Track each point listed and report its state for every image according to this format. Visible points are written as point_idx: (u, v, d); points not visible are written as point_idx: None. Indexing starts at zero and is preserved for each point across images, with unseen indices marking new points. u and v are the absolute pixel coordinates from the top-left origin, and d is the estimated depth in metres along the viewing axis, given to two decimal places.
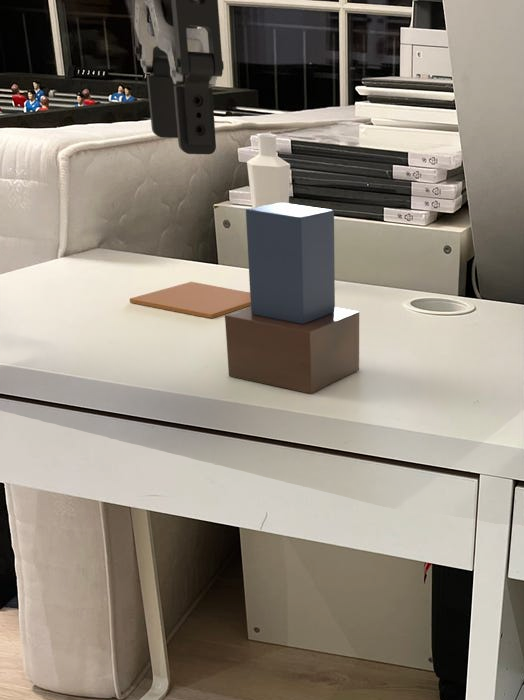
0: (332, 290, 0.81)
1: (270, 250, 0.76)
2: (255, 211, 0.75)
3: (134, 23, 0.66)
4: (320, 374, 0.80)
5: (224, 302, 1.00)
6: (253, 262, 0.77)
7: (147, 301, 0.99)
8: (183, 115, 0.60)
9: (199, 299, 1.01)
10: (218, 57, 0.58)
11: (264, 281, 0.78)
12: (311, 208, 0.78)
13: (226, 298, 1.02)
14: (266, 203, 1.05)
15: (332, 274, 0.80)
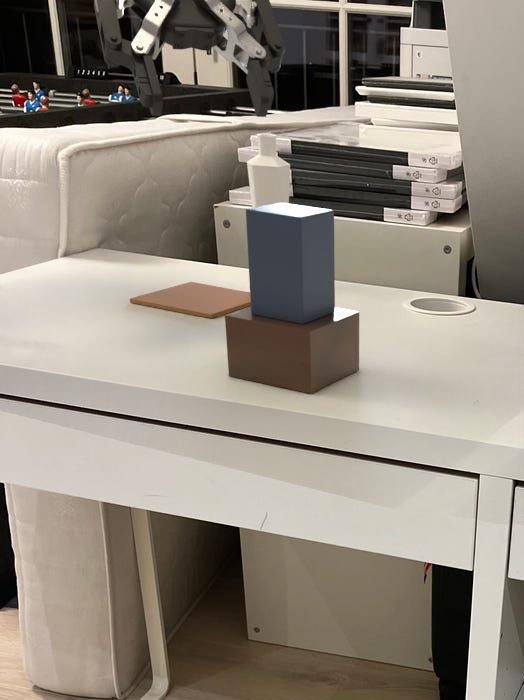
0: (332, 290, 0.81)
1: (270, 250, 0.76)
2: (255, 211, 0.75)
3: (106, 19, 0.75)
4: (320, 374, 0.80)
5: (224, 302, 1.00)
6: (253, 262, 0.77)
7: (147, 301, 0.99)
8: None
9: (199, 299, 1.01)
10: None
11: (264, 281, 0.78)
12: (311, 208, 0.78)
13: (226, 298, 1.02)
14: (266, 203, 1.05)
15: (332, 274, 0.80)
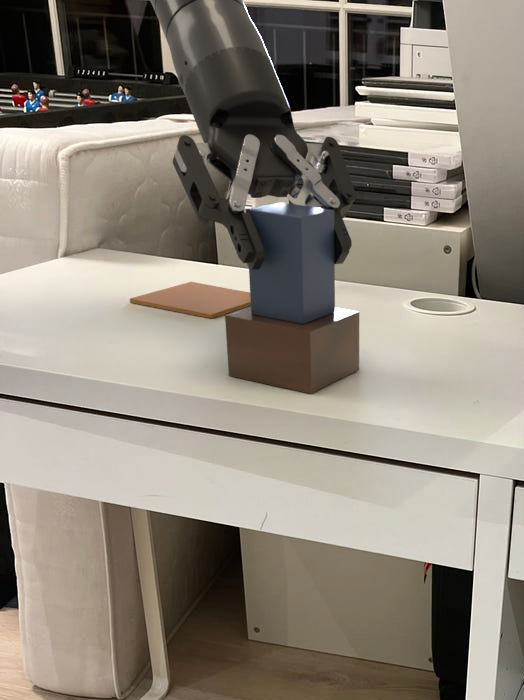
0: (332, 290, 0.81)
1: (270, 250, 0.76)
2: (255, 211, 0.75)
3: (201, 179, 0.74)
4: (320, 374, 0.80)
5: (224, 302, 1.00)
6: None
7: (147, 301, 0.99)
8: None
9: (199, 299, 1.01)
10: None
11: (264, 281, 0.78)
12: (311, 208, 0.78)
13: (226, 298, 1.02)
14: (266, 203, 1.05)
15: (332, 274, 0.80)
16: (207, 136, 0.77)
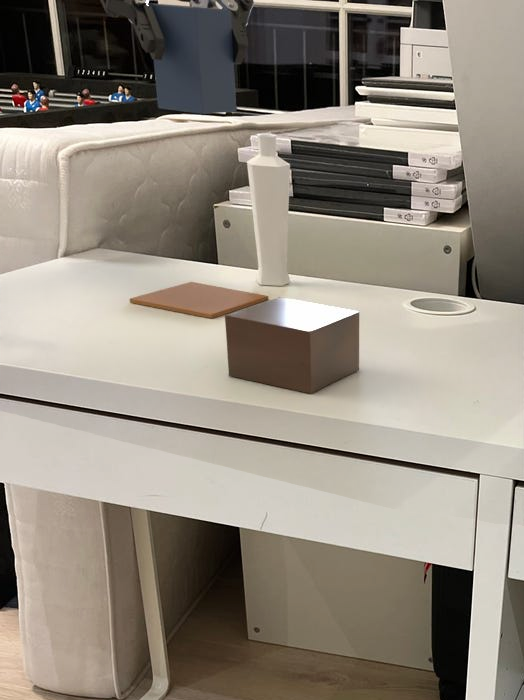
0: (232, 89, 0.90)
1: (171, 42, 0.85)
2: (156, 4, 0.84)
3: None
4: (320, 374, 0.80)
5: (224, 302, 1.00)
6: None
7: (147, 301, 0.99)
8: None
9: (199, 299, 1.01)
10: None
11: (168, 73, 0.86)
12: None
13: (226, 298, 1.02)
14: (266, 203, 1.05)
15: (232, 73, 0.89)
16: None
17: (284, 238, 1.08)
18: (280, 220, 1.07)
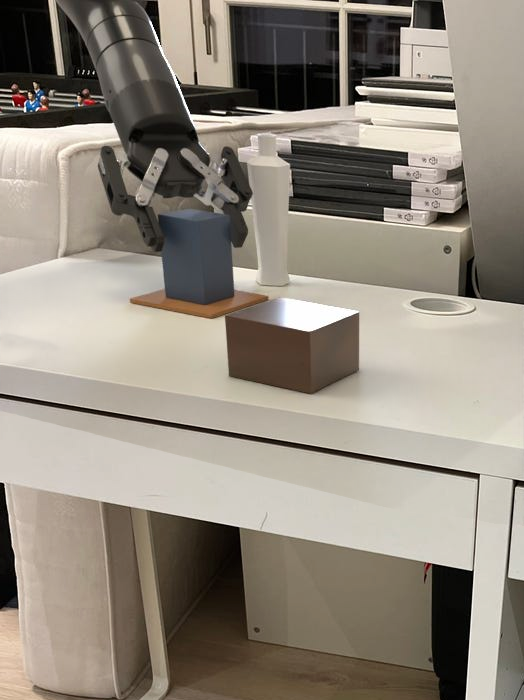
0: (231, 278, 1.02)
1: (177, 246, 0.97)
2: (165, 216, 0.96)
3: (114, 180, 0.94)
4: (320, 374, 0.80)
5: (224, 302, 1.00)
6: (165, 256, 0.98)
7: (147, 301, 0.99)
8: None
9: None
10: None
11: (174, 271, 0.98)
12: (211, 213, 0.99)
13: None
14: (266, 203, 1.05)
15: (230, 265, 1.01)
16: (127, 149, 0.97)
17: (284, 238, 1.08)
18: (280, 220, 1.07)
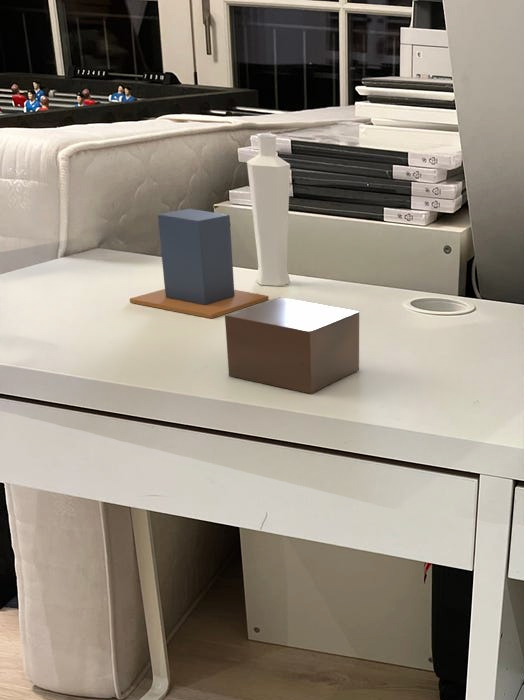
0: (231, 278, 1.02)
1: (177, 246, 0.97)
2: (165, 216, 0.96)
3: None
4: (320, 374, 0.80)
5: (224, 302, 1.00)
6: (165, 256, 0.98)
7: (147, 301, 0.99)
8: None
9: None
10: None
11: (174, 271, 0.98)
12: (211, 213, 0.99)
13: None
14: (266, 203, 1.05)
15: (230, 265, 1.01)
16: None
17: (284, 238, 1.08)
18: (280, 220, 1.07)
